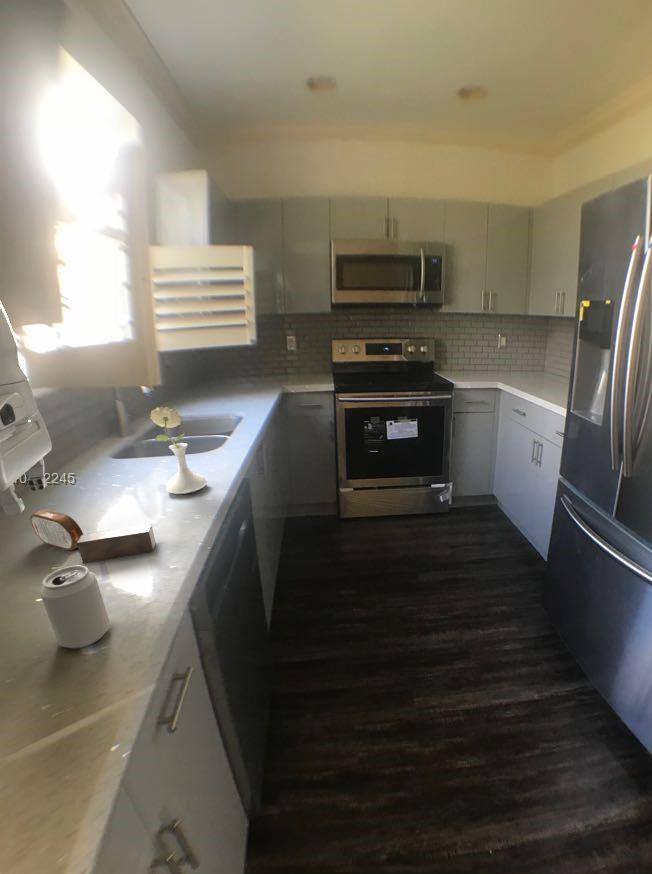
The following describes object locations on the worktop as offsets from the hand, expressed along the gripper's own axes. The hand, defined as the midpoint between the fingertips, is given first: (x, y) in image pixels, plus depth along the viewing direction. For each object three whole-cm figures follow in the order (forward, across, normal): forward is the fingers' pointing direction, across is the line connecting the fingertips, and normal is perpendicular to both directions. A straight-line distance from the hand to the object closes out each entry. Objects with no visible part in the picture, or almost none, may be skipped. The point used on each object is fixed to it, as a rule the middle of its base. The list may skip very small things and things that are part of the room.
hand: (28, 500), depth 66 cm
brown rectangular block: (+25, -30, +1) cm, 39 cm away
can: (+26, -1, +1) cm, 26 cm away
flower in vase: (+26, -65, +13) cm, 71 cm away
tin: (+26, -39, -12) cm, 48 cm away
